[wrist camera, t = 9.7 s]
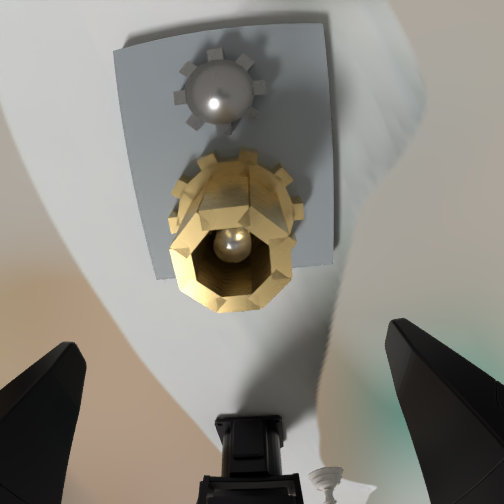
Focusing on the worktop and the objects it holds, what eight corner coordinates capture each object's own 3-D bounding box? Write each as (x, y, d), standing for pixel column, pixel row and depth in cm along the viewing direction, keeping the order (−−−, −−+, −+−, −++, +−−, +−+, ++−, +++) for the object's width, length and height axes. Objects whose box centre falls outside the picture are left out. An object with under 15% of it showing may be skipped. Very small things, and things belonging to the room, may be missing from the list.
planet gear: (302, 259, 19) (322, 324, 14) (185, 271, 20) (166, 337, 14) (295, 141, 16) (320, 165, 11) (162, 157, 16) (123, 189, 11)
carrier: (329, 256, 20) (352, 307, 16) (160, 271, 21) (138, 325, 16) (318, 27, 14) (348, 1, 9) (119, 52, 14) (73, 41, 9)
